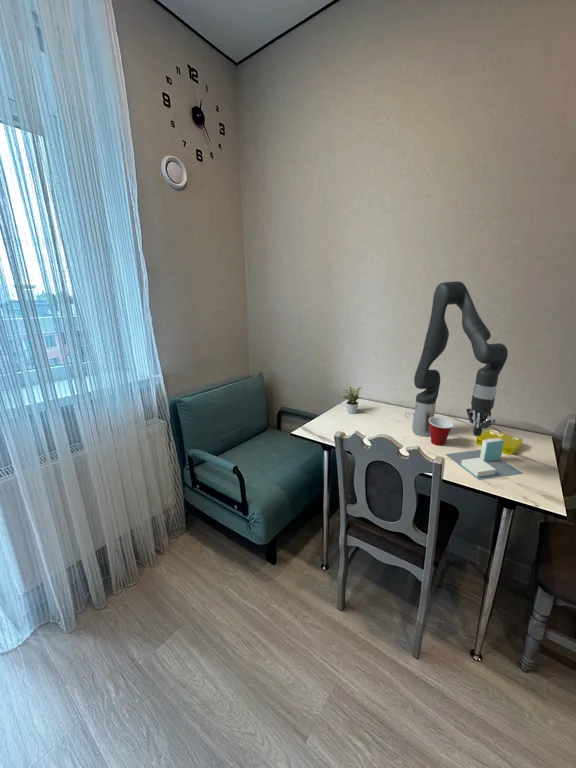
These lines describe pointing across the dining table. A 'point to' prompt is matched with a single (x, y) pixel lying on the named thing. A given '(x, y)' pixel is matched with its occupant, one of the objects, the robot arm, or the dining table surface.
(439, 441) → the plastic cup
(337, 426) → the dining table surface
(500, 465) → the mat
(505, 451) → the element tile
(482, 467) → the tile
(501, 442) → the tile
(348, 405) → the house plant
